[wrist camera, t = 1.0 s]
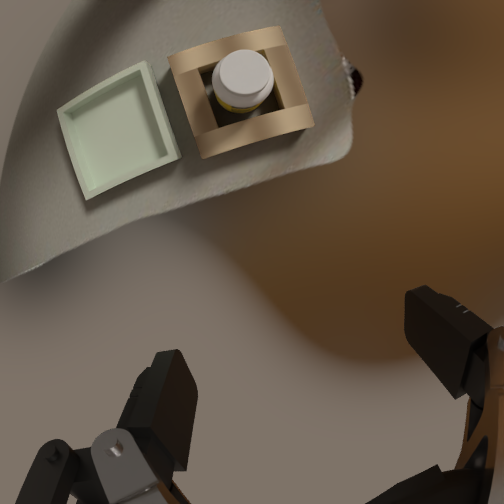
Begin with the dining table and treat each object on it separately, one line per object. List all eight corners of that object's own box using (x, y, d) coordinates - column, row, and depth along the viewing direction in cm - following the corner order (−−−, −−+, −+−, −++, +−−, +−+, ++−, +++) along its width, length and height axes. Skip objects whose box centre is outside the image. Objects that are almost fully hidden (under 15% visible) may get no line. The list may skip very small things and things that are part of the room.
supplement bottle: (228, 122, 29) (227, 114, 20) (207, 82, 27) (196, 58, 18) (273, 102, 28) (291, 86, 19) (251, 62, 26) (260, 31, 17)
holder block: (204, 157, 30) (202, 159, 27) (172, 64, 25) (167, 56, 23) (307, 127, 29) (315, 126, 26) (275, 34, 25) (279, 25, 22)
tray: (95, 196, 30) (86, 200, 28) (66, 111, 26) (56, 110, 23) (182, 157, 30) (178, 159, 27) (151, 65, 25) (145, 60, 23)
